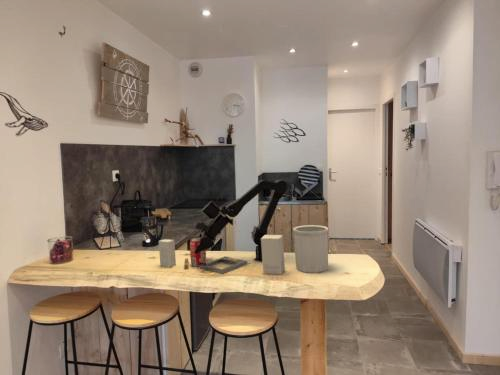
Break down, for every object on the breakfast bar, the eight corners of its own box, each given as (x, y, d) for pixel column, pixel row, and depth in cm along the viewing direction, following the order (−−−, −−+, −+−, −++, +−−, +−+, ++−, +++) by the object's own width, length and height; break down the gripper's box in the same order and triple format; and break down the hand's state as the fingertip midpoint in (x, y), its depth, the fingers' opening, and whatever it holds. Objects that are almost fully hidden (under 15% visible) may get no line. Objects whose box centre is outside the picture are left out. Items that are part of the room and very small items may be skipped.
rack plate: (247, 264, 166) (247, 260, 166) (222, 274, 154) (222, 270, 154) (225, 259, 175) (225, 255, 175) (200, 268, 163) (200, 264, 163)
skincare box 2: (285, 270, 155) (284, 234, 154) (281, 275, 149) (280, 238, 148) (266, 269, 158) (265, 234, 157) (261, 274, 152) (260, 237, 150)
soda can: (207, 262, 171) (206, 237, 170) (204, 267, 164) (203, 241, 163) (193, 262, 172) (191, 237, 171) (189, 267, 165) (187, 241, 164)
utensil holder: (288, 265, 162) (287, 226, 160) (317, 260, 167) (316, 223, 165) (305, 275, 148) (304, 233, 146) (336, 270, 154) (335, 229, 152)
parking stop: (185, 262, 172) (184, 258, 172) (188, 262, 172) (188, 258, 172) (184, 269, 162) (184, 264, 162) (187, 269, 162) (187, 264, 162)
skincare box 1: (176, 265, 169) (174, 239, 168) (170, 267, 165) (169, 241, 164) (165, 263, 172) (164, 238, 170) (159, 266, 168) (158, 241, 166)
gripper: (204, 211, 175) (182, 235, 175) (205, 217, 157) (180, 244, 157) (221, 226, 177) (199, 250, 177) (224, 234, 159) (200, 261, 158)
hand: (194, 251), depth 167 cm, fingers open, 7 cm apart
